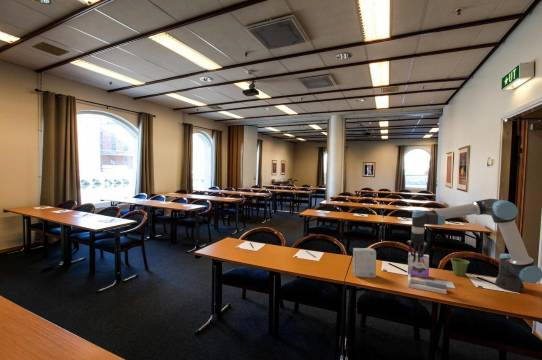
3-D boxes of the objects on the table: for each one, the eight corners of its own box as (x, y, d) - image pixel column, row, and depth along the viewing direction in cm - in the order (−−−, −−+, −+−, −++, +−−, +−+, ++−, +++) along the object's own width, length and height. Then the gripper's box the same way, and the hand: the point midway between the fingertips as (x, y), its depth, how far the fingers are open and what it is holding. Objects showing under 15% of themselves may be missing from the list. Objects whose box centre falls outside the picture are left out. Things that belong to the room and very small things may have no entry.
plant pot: (472, 276, 197) (473, 262, 197) (462, 278, 193) (462, 264, 192) (456, 271, 208) (456, 257, 208) (446, 272, 204) (446, 258, 203)
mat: (452, 282, 185) (452, 282, 185) (455, 289, 175) (455, 288, 175) (434, 279, 190) (434, 279, 190) (436, 285, 180) (436, 284, 180)
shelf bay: (443, 287, 178) (443, 280, 177) (446, 294, 168) (446, 286, 167) (408, 281, 187) (408, 274, 187) (408, 287, 177) (408, 279, 177)
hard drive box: (373, 273, 199) (373, 248, 198) (376, 278, 192) (376, 251, 191) (352, 272, 201) (353, 247, 200) (354, 276, 193) (355, 250, 192)
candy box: (407, 274, 198) (408, 253, 198) (407, 272, 204) (408, 251, 203) (428, 278, 192) (429, 256, 191) (428, 275, 197) (428, 254, 197)
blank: (445, 289, 174) (445, 282, 174) (446, 292, 170) (446, 285, 170) (424, 286, 180) (424, 279, 180) (425, 288, 176) (425, 281, 175)
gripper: (428, 232, 179) (426, 266, 180) (407, 230, 185) (405, 262, 186) (429, 234, 173) (427, 269, 173) (407, 232, 178) (406, 266, 179)
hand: (416, 266), depth 180 cm, fingers closed
